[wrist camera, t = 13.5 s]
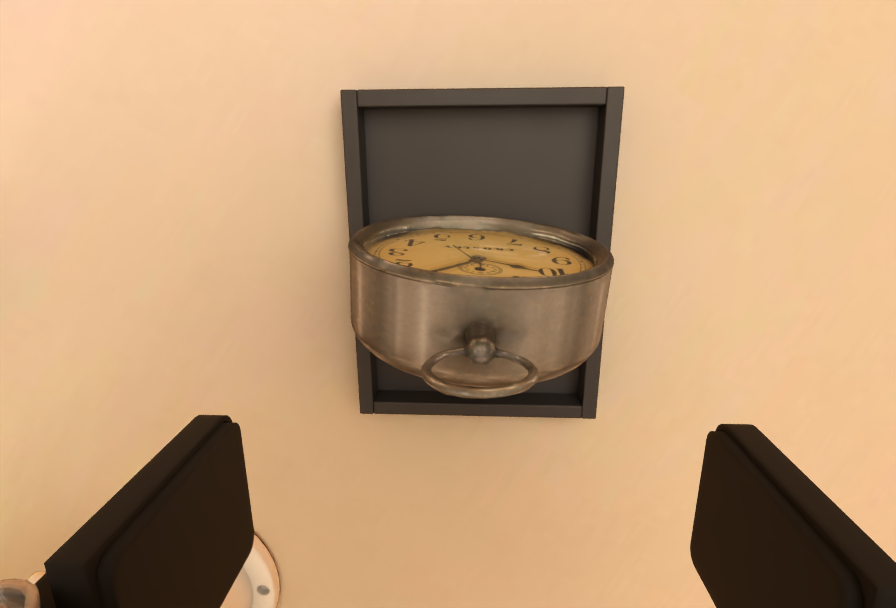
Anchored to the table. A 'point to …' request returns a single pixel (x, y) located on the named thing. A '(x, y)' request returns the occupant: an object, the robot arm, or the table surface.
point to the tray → (482, 201)
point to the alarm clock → (478, 300)
